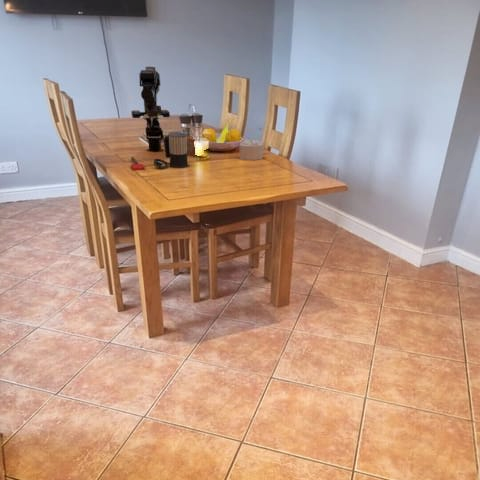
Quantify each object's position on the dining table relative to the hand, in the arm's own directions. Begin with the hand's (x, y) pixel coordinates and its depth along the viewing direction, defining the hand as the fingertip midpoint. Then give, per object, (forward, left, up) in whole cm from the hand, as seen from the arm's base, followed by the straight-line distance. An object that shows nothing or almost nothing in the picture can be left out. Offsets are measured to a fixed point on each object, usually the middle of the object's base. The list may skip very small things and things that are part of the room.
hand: (151, 131), depth 234 cm
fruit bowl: (-38, +17, -12) cm, 43 cm away
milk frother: (+11, +22, -12) cm, 27 cm away
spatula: (+19, +6, -12) cm, 23 cm away
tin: (-15, +16, -12) cm, 25 cm away
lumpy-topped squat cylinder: (-30, +42, -12) cm, 53 cm away
